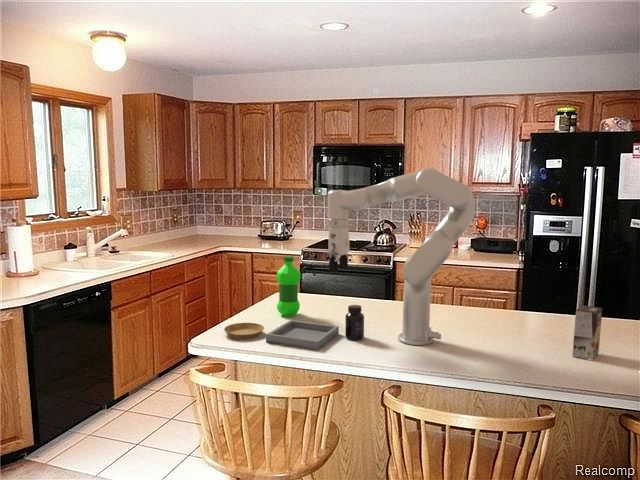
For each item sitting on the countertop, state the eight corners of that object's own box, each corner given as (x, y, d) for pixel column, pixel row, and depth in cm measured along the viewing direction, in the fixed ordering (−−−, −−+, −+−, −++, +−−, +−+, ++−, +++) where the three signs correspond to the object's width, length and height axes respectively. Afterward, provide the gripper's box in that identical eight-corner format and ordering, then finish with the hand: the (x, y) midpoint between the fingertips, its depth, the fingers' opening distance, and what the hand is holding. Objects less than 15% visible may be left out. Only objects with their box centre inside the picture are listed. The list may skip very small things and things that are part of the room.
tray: (338, 334, 197) (338, 326, 197) (317, 350, 179) (317, 341, 178) (290, 327, 205) (290, 320, 204) (266, 342, 186) (266, 334, 186)
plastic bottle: (273, 312, 226) (273, 255, 223) (297, 311, 229) (297, 254, 226) (278, 318, 217) (278, 259, 213) (303, 317, 220) (303, 258, 217)
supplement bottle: (364, 335, 196) (364, 304, 194) (363, 341, 189) (364, 308, 187) (345, 334, 196) (346, 303, 195) (344, 340, 190) (345, 308, 188)
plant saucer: (256, 342, 187) (256, 335, 187) (217, 339, 190) (217, 332, 190) (269, 330, 201) (269, 324, 201) (232, 327, 204) (232, 321, 204)
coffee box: (592, 361, 171) (596, 313, 169) (571, 356, 175) (575, 309, 173) (599, 354, 178) (602, 307, 176) (578, 349, 182) (582, 304, 180)
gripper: (338, 226, 183) (339, 274, 185) (356, 222, 199) (356, 266, 201) (319, 225, 186) (319, 273, 188) (337, 221, 202) (338, 265, 204)
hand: (338, 269), depth 194 cm, fingers open, 9 cm apart
